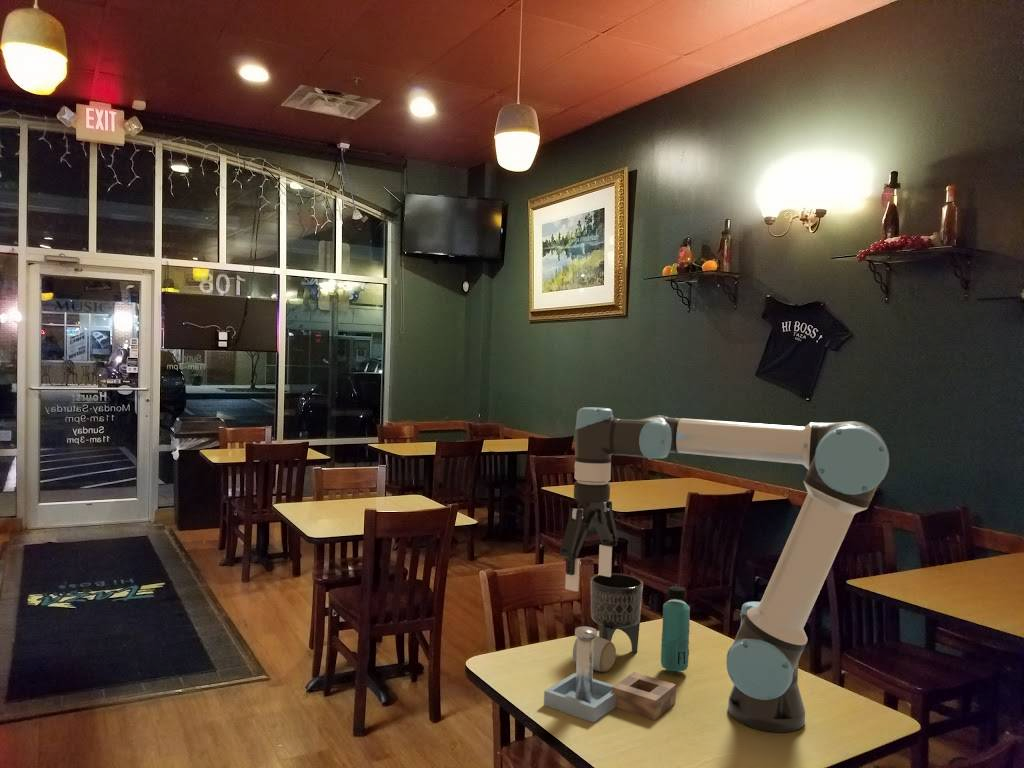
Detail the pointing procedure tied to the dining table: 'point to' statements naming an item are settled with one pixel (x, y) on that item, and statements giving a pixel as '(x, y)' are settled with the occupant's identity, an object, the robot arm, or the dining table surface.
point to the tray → (565, 700)
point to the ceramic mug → (600, 654)
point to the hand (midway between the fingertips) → (588, 582)
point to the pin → (584, 663)
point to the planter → (617, 605)
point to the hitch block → (644, 695)
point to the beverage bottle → (675, 631)
